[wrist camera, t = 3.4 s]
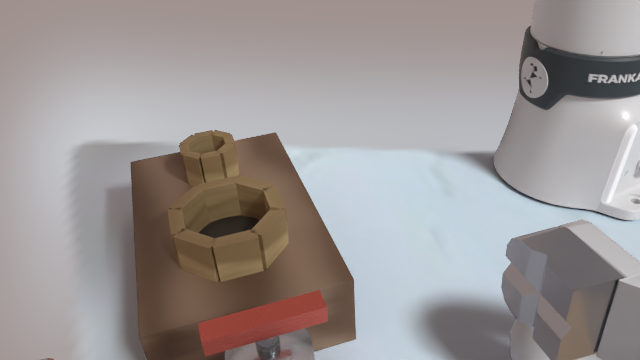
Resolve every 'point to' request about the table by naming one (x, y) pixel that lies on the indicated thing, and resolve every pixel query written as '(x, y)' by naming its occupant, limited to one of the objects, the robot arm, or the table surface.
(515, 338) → the donut
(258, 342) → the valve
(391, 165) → the table surface
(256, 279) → the manifold block
